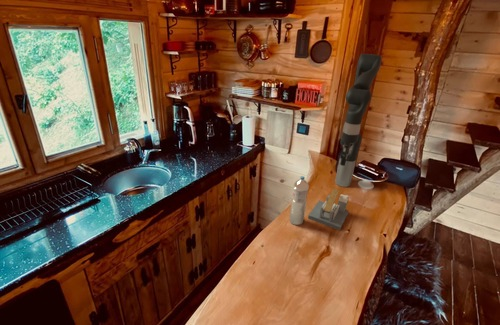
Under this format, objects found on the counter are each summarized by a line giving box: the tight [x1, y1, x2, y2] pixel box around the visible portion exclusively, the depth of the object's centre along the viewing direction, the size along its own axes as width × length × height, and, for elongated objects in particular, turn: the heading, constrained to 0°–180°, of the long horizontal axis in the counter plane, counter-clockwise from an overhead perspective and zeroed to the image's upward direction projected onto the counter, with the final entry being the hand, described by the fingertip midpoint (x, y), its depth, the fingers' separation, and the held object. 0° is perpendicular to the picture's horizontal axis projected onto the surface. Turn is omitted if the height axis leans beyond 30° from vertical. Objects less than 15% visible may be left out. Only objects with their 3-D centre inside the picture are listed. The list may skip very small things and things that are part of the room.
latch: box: [338, 193, 350, 204], centre depth 139 cm, size 3×4×3 cm
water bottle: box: [289, 175, 310, 226], centre depth 130 cm, size 7×7×25 cm
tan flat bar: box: [324, 188, 340, 213], centre depth 136 cm, size 14×3×1 cm
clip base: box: [307, 194, 350, 231], centre depth 138 cm, size 16×16×8 cm
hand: (344, 162), depth 139 cm, fingers open, 6 cm apart
